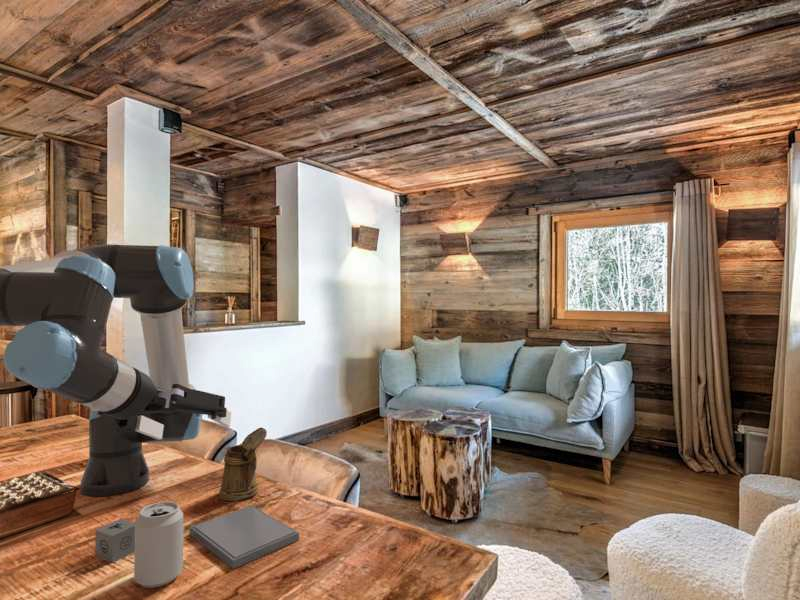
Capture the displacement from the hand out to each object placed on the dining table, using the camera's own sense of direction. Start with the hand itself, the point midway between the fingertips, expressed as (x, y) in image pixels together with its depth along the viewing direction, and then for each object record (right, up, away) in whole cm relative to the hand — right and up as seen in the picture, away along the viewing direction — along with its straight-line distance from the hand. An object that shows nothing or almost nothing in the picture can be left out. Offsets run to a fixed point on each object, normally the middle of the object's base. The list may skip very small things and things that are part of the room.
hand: (194, 426), depth 88 cm
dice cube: (-15, -24, +1) cm, 29 cm away
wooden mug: (0, -24, +27) cm, 36 cm away
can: (-3, -24, -7) cm, 26 cm away
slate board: (+7, -24, +7) cm, 26 cm away
